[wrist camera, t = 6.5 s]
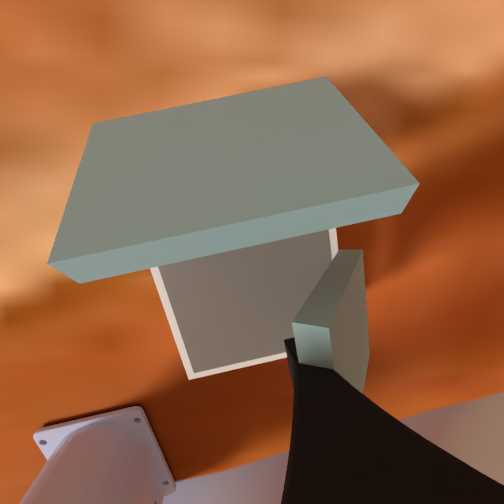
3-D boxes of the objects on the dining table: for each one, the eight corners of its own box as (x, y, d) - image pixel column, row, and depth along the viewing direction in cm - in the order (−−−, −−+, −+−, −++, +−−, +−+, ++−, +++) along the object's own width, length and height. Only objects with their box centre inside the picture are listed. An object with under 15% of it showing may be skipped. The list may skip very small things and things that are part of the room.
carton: (321, 307, 17) (348, 344, 13) (198, 335, 17) (188, 380, 13) (297, 125, 14) (324, 103, 10) (142, 157, 14) (107, 147, 10)
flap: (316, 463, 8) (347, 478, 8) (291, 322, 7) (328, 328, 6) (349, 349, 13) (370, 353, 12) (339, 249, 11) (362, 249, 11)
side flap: (401, 213, 6) (419, 183, 5) (79, 283, 6) (47, 264, 5) (322, 105, 9) (326, 76, 9) (109, 149, 9) (92, 123, 8)
